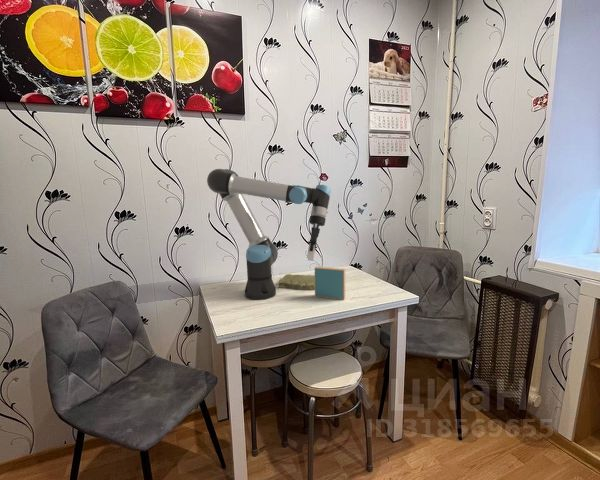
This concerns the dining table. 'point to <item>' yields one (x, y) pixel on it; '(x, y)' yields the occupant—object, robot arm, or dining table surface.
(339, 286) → the standing tile
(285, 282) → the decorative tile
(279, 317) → the dining table surface
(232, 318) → the dining table surface
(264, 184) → the robot arm
